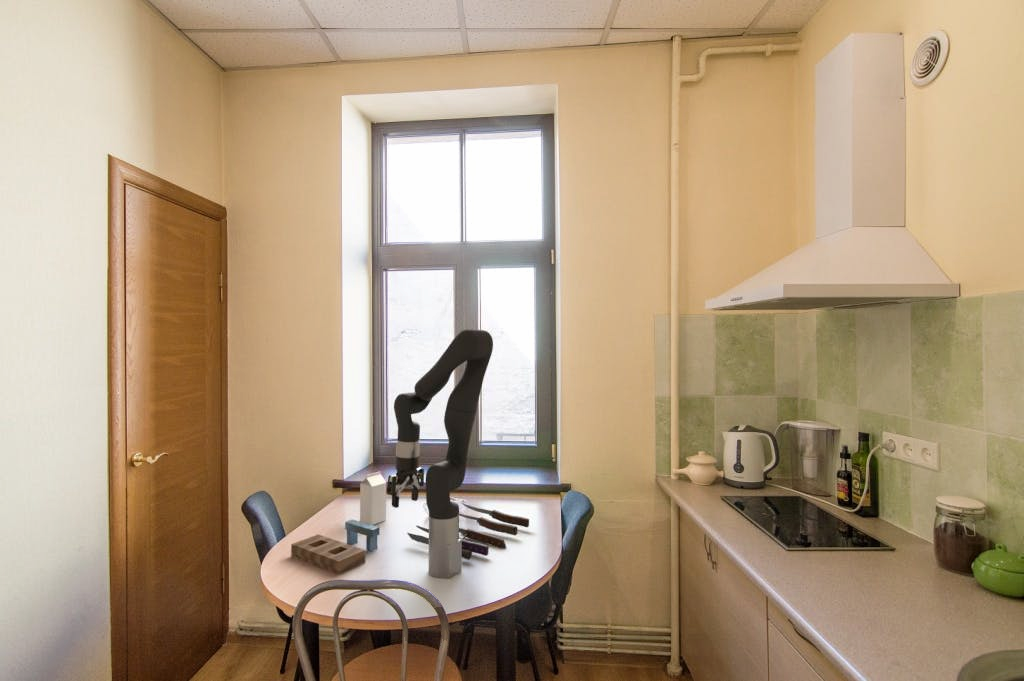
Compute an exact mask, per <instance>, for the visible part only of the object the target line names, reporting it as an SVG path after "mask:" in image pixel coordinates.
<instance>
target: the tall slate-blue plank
mask: <svg viewBox="0 0 1024 681" xmlns="http://www.w3.org/2000/svg"><path fill="white" fill-rule="evenodd" d="M344 524H345V525H344V530H346V544H349V545H352V546H354V545H355V544H357V543H358V541H359V540H358V539H359V538H358V536H359V534H360V535H363V536H365V538H366V542H365V544H366V545H365V546H366V547H365V548H366V549H365V552H369V551H370V553H372V552H373V550H374V551H375V549H376V550H378V536H380V527H379V526H377V525H370V524H366V523H363V522H360V520H356V519H349V520H346V521H344Z"/></svg>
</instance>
